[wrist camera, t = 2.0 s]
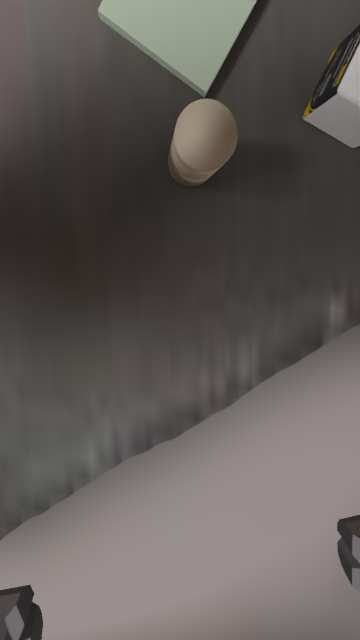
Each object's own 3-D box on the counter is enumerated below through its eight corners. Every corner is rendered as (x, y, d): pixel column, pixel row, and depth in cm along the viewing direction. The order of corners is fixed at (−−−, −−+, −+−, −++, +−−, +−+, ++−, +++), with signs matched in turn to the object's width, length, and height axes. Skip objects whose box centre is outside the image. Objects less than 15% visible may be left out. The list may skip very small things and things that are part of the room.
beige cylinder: (159, 170, 34) (162, 146, 24) (183, 127, 33) (196, 83, 23) (197, 196, 35) (216, 182, 25) (221, 154, 34) (250, 124, 25)
